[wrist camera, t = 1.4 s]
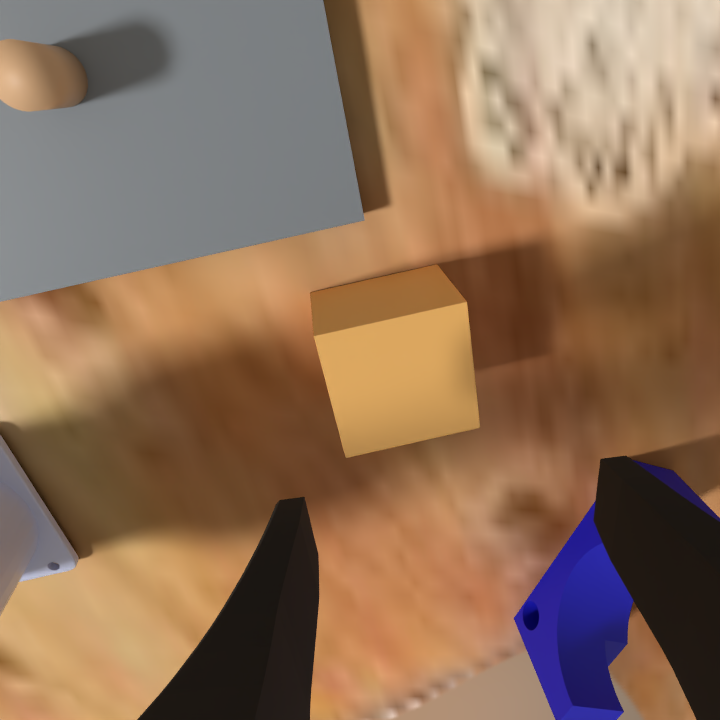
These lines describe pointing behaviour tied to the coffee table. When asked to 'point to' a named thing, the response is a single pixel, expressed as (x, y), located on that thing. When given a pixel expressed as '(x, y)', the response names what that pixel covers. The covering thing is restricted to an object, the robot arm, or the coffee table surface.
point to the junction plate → (163, 134)
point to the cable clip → (583, 619)
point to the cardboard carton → (396, 359)
